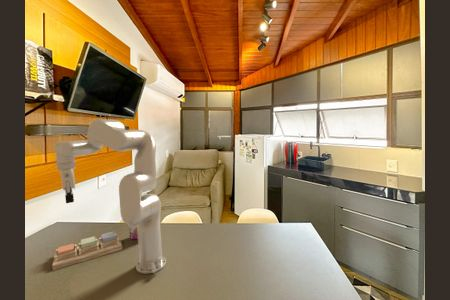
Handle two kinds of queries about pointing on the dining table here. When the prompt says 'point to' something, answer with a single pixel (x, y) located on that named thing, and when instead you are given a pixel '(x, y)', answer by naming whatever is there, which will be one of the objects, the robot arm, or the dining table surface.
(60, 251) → the terracotta button
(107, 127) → the robot arm
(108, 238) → the slate button
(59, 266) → the button panel
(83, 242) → the sage button
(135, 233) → the candy bar box
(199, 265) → the dining table surface
